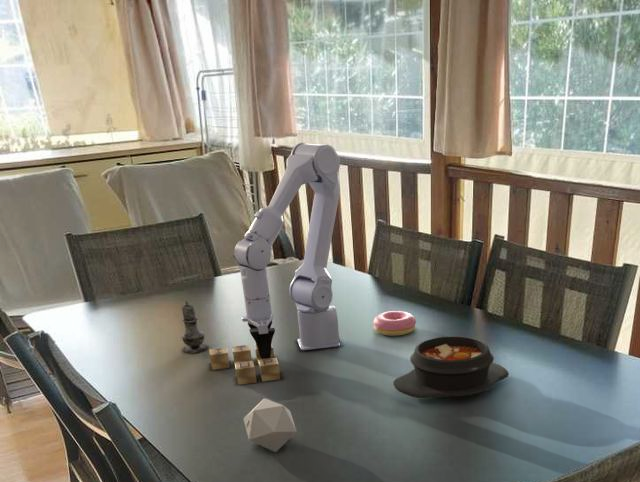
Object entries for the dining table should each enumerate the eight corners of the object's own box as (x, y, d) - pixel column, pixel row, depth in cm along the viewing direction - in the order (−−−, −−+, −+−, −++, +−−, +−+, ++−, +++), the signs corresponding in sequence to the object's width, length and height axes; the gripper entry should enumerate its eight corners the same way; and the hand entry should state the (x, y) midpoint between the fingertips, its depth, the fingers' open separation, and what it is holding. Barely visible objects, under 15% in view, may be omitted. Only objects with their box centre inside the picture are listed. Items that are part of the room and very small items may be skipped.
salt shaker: (201, 353, 168) (192, 304, 161) (179, 352, 169) (169, 304, 162) (211, 345, 173) (202, 297, 166) (189, 344, 174) (180, 297, 167)
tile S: (273, 356, 164) (271, 341, 162) (275, 362, 160) (273, 347, 159) (256, 358, 163) (254, 343, 161) (257, 364, 160) (255, 349, 158)
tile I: (229, 361, 162) (226, 346, 160) (230, 367, 159) (227, 352, 157) (211, 364, 161) (209, 349, 159) (212, 370, 158) (209, 354, 156)
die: (261, 434, 130) (228, 406, 122) (300, 410, 128) (269, 380, 120) (270, 468, 125) (237, 441, 117) (310, 443, 123) (280, 414, 115)
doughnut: (366, 335, 174) (365, 319, 171) (382, 322, 182) (382, 306, 180) (407, 339, 170) (407, 323, 168) (421, 325, 178) (421, 309, 176)
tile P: (278, 373, 155) (276, 357, 153) (280, 379, 151) (278, 363, 149) (260, 375, 154) (258, 359, 152) (262, 381, 151) (260, 365, 149)
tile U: (255, 375, 154) (252, 360, 152) (256, 382, 150) (254, 366, 149) (237, 378, 153) (234, 362, 151) (238, 384, 150) (235, 368, 148)
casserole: (422, 416, 132) (422, 375, 128) (377, 384, 146) (376, 346, 142) (527, 388, 142) (530, 348, 137) (475, 361, 156) (476, 324, 151)
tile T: (251, 359, 163) (249, 344, 161) (252, 365, 160) (250, 349, 158) (234, 361, 162) (231, 346, 160) (235, 367, 159) (232, 352, 157)
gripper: (236, 289, 159) (245, 346, 166) (241, 307, 147) (250, 367, 154) (267, 286, 160) (274, 343, 168) (274, 303, 148) (281, 363, 156)
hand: (264, 354), depth 161 cm, fingers closed on tile S, 4 cm apart
